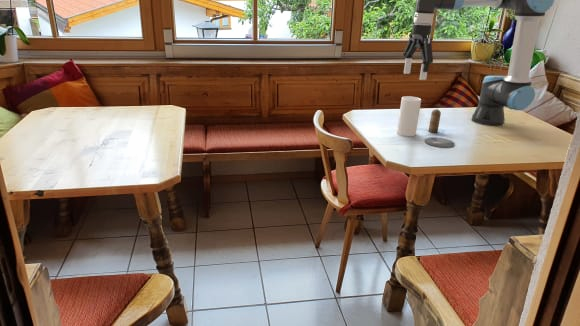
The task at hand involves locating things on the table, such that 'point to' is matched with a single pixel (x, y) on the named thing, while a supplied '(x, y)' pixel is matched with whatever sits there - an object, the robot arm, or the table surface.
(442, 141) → the coaster
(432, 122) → the pepper mill
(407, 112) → the cup
